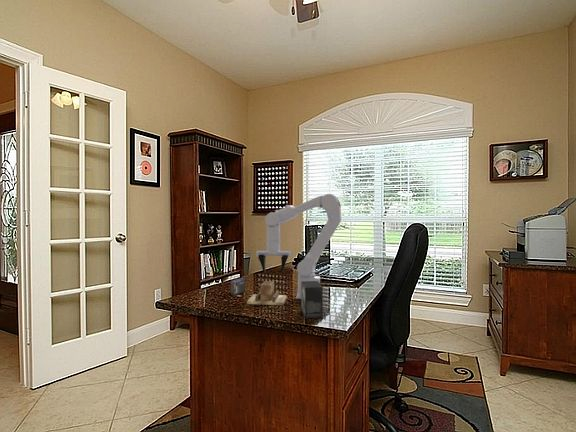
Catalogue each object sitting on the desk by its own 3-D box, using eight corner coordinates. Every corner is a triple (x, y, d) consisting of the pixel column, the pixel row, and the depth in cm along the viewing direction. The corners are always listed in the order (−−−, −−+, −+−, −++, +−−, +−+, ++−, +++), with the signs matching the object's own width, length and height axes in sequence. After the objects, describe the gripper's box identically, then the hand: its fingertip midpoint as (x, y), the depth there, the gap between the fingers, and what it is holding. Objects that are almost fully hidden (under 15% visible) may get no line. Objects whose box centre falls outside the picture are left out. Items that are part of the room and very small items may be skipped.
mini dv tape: (233, 295, 146) (233, 281, 146) (230, 294, 147) (230, 280, 147) (244, 291, 154) (245, 278, 154) (242, 291, 154) (242, 277, 154)
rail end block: (274, 296, 140) (274, 281, 140) (270, 300, 132) (270, 285, 132) (264, 295, 141) (264, 281, 141) (260, 300, 133) (260, 285, 133)
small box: (300, 309, 124) (300, 280, 124) (318, 309, 124) (318, 280, 124) (304, 318, 113) (304, 286, 113) (323, 318, 114) (323, 286, 114)
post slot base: (286, 297, 142) (286, 290, 142) (283, 305, 130) (283, 297, 130) (253, 296, 143) (253, 290, 143) (246, 303, 131) (246, 296, 132)
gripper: (254, 241, 143) (254, 274, 143) (289, 241, 142) (289, 274, 142) (257, 240, 150) (257, 271, 150) (291, 240, 149) (290, 272, 149)
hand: (273, 272), depth 147 cm, fingers open, 7 cm apart
